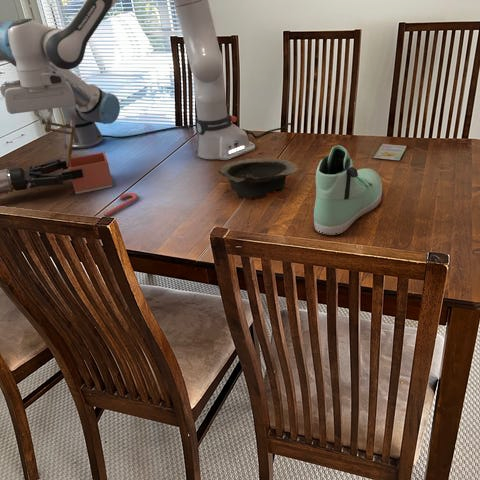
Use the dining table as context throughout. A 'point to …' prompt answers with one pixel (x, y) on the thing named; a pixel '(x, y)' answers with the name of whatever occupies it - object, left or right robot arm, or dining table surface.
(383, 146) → the baking ingredient package
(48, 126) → the lid
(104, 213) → the candy cane
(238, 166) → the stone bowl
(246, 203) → the dining table surface
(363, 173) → the sneaker
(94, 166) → the chest
